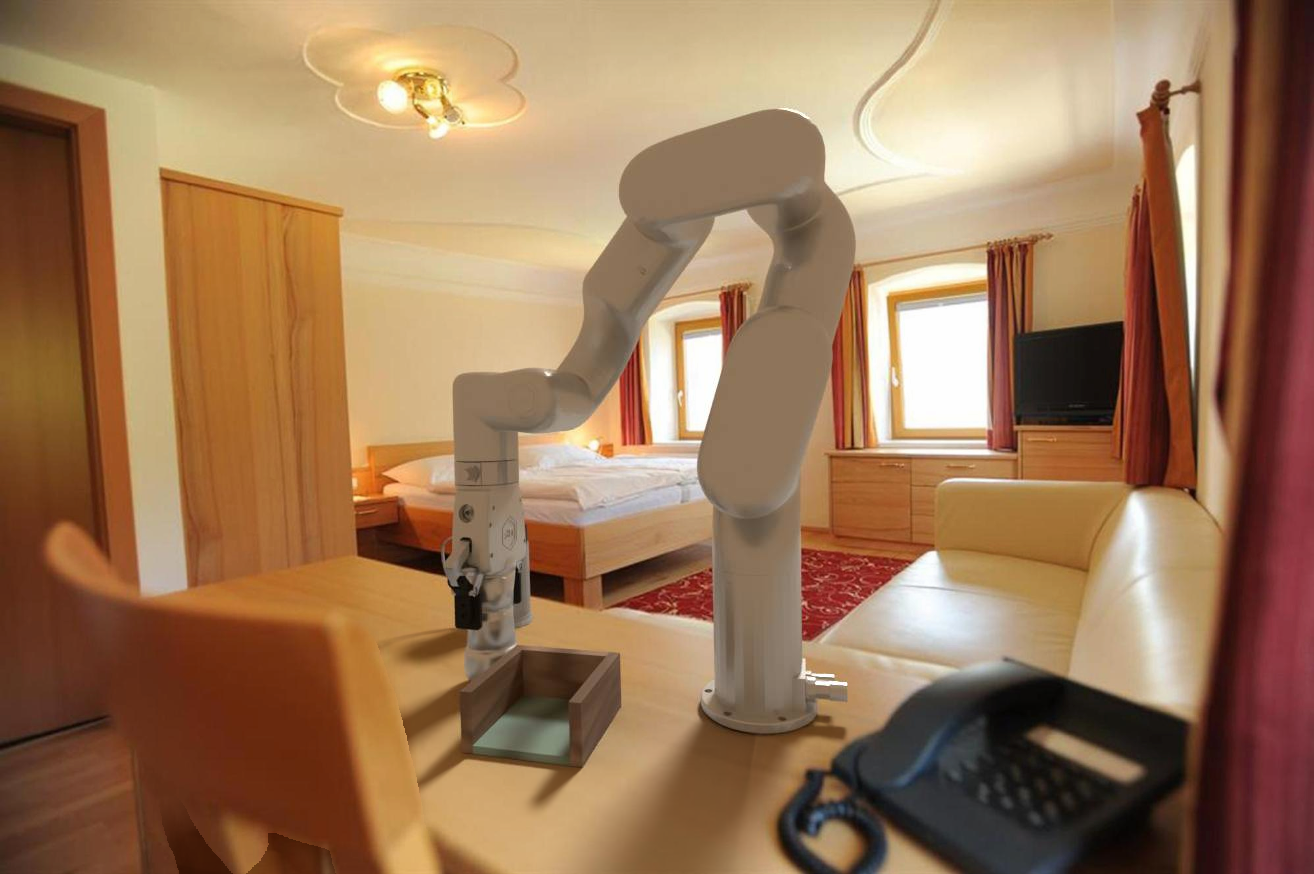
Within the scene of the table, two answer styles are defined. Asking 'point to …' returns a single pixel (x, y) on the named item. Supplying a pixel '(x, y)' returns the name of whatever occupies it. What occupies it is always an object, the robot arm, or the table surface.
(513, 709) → the u rest
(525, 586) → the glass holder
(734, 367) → the robot arm
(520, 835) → the table surface
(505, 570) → the plastic bottle
